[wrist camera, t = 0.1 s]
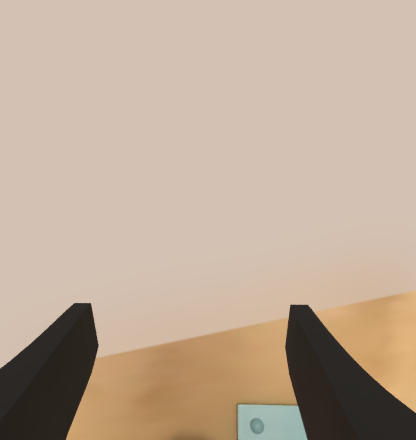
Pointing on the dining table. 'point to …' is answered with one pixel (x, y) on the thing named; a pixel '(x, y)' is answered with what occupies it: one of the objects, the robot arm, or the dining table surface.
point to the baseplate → (269, 422)
